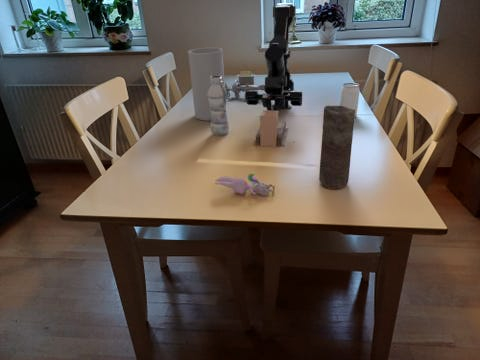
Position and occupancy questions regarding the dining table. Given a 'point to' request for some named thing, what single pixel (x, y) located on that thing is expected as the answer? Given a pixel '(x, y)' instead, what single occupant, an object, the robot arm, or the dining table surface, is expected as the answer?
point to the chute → (280, 139)
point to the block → (268, 128)
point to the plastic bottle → (218, 107)
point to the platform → (246, 77)
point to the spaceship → (242, 88)
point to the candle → (336, 146)
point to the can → (350, 96)
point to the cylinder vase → (204, 77)
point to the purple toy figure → (246, 185)
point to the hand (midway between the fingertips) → (271, 121)
